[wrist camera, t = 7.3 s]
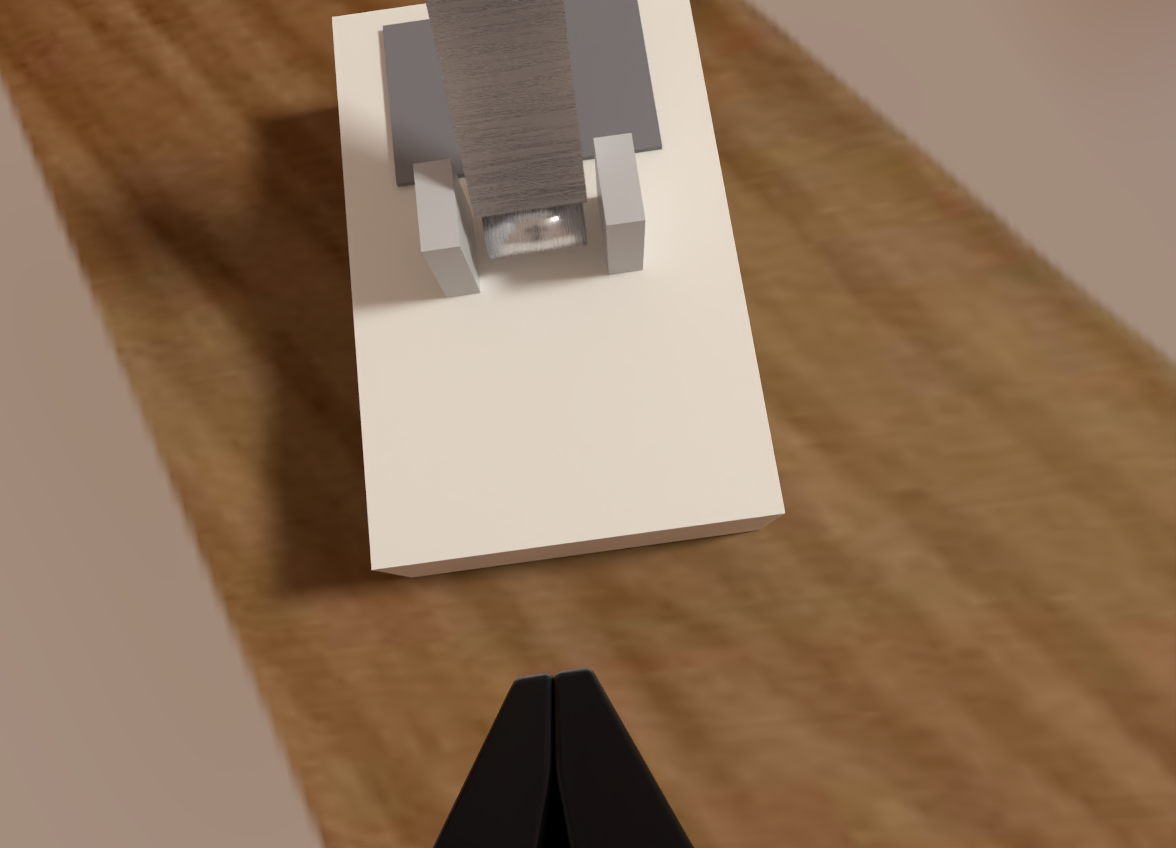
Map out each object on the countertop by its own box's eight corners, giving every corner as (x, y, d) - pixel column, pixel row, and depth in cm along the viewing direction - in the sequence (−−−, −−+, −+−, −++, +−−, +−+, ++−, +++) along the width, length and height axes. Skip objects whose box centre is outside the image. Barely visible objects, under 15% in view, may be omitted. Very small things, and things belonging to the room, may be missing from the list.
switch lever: (600, 271, 18) (534, -309, 12) (482, 287, 18) (350, -282, 12) (590, 212, 20) (528, -314, 14) (482, 227, 20) (369, -290, 14)
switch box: (759, 530, 21) (810, 496, 16) (411, 577, 22) (332, 562, 16) (674, 56, 25) (690, -118, 19) (372, 99, 25) (294, -61, 19)
